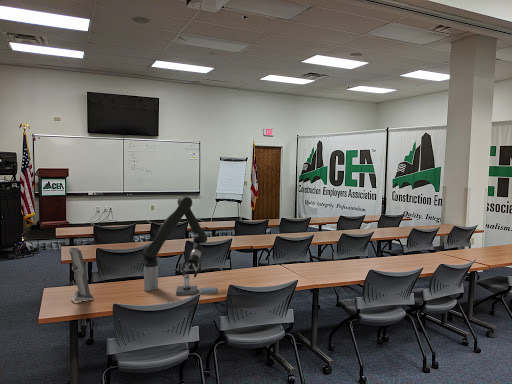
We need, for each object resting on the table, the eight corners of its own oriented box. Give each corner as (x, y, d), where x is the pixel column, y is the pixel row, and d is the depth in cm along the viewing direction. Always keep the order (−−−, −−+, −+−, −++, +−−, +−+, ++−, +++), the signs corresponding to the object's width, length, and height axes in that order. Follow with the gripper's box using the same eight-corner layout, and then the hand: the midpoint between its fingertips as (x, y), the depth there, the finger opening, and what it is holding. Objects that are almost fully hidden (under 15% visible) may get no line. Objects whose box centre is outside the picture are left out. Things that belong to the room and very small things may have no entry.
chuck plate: (176, 295, 260) (176, 291, 260) (177, 289, 272) (177, 286, 272) (196, 294, 262) (196, 291, 262) (197, 289, 274) (197, 285, 274)
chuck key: (184, 293, 265) (183, 276, 264) (184, 291, 269) (184, 274, 268) (189, 292, 266) (189, 276, 265) (189, 291, 269) (189, 274, 268)
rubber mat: (199, 294, 262) (199, 293, 262) (200, 289, 274) (200, 287, 274) (216, 293, 264) (216, 292, 264) (216, 288, 276) (216, 287, 276)
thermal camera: (70, 299, 253) (68, 247, 251) (90, 295, 260) (89, 245, 258) (73, 304, 243) (71, 250, 241) (94, 300, 251) (92, 248, 249)
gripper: (184, 253, 280) (178, 273, 269) (202, 254, 276) (196, 274, 266) (187, 259, 285) (181, 278, 275) (205, 260, 282) (199, 279, 271)
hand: (188, 276), depth 270 cm, fingers open, 8 cm apart
